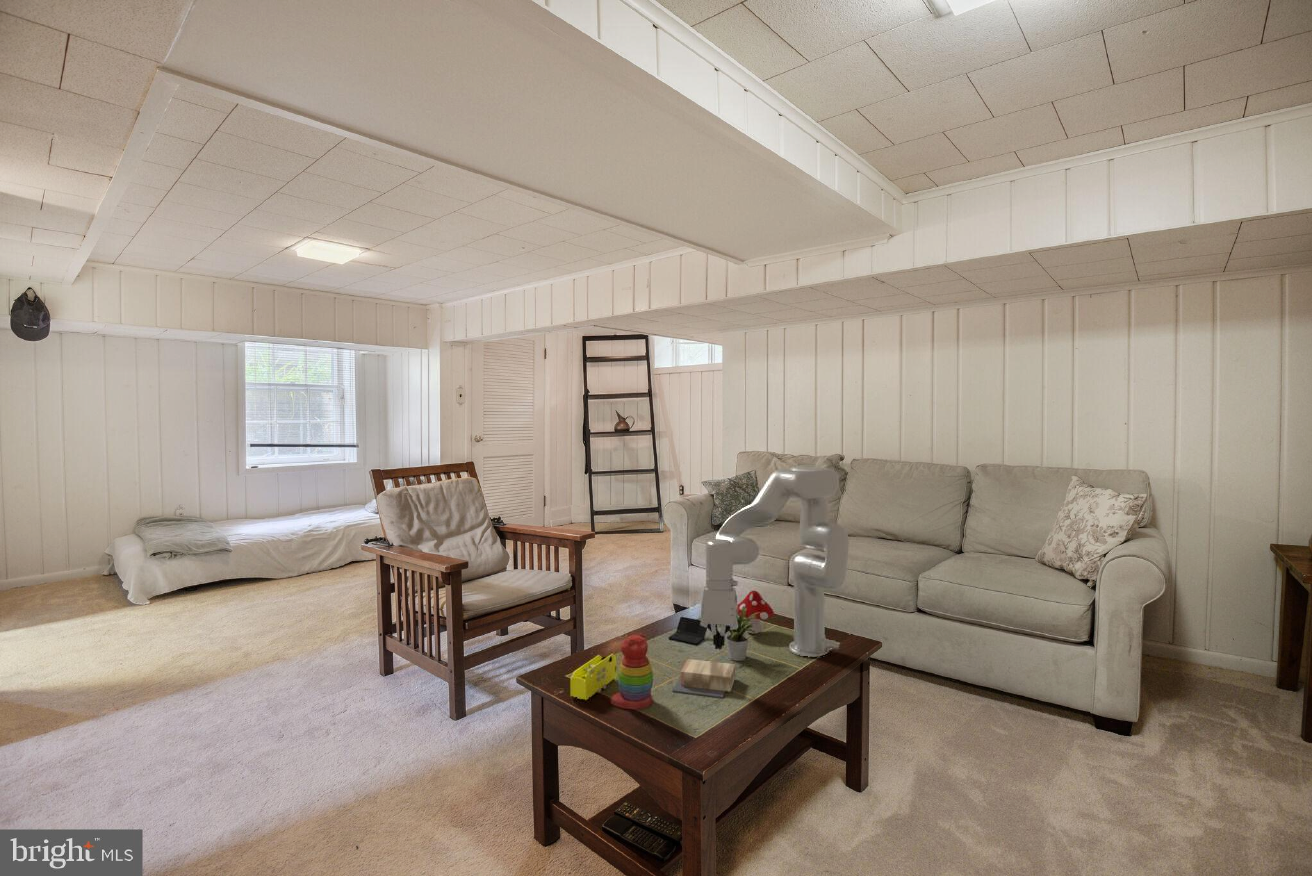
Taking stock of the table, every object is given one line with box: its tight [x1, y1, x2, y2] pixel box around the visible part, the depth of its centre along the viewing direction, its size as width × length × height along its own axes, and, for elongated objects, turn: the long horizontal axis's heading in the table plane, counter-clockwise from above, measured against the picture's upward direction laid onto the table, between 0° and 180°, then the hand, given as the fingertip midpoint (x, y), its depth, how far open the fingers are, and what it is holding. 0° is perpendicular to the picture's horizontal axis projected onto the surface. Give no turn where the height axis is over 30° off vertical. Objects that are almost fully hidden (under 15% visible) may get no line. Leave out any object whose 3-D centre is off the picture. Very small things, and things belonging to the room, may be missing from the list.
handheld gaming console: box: [668, 616, 708, 646], centre depth 209 cm, size 12×7×10 cm
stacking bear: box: [609, 633, 654, 710], centre depth 164 cm, size 11×10×18 cm
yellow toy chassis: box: [569, 653, 618, 701], centre depth 171 cm, size 16×6×8 cm, turn 153°
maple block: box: [680, 658, 736, 693], centre depth 175 cm, size 4×9×14 cm
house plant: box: [717, 607, 760, 662], centre depth 191 cm, size 14×14×16 cm
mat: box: [672, 675, 726, 699], centre depth 175 cm, size 14×16×1 cm
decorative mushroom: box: [737, 590, 775, 635], centre depth 214 cm, size 14×14×15 cm
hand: (718, 647), depth 174 cm, fingers closed
